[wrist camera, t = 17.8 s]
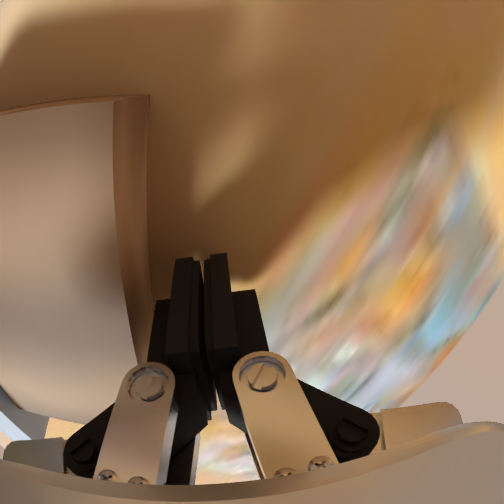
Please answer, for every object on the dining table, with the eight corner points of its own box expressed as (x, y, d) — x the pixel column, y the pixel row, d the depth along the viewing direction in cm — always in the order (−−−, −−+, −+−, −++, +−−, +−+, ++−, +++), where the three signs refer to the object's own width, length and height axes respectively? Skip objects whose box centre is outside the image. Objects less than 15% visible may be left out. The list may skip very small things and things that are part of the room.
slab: (161, 363, 14) (156, 433, 11) (40, 349, 13) (18, 408, 9) (152, 94, 8) (113, 101, 5) (-17, 114, 7) (-89, 142, 3)
